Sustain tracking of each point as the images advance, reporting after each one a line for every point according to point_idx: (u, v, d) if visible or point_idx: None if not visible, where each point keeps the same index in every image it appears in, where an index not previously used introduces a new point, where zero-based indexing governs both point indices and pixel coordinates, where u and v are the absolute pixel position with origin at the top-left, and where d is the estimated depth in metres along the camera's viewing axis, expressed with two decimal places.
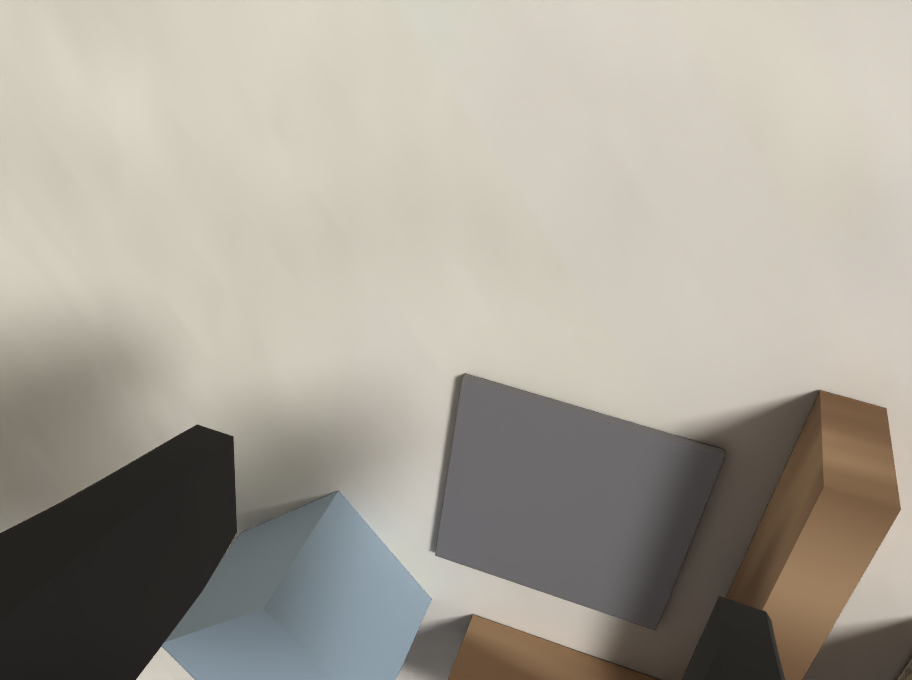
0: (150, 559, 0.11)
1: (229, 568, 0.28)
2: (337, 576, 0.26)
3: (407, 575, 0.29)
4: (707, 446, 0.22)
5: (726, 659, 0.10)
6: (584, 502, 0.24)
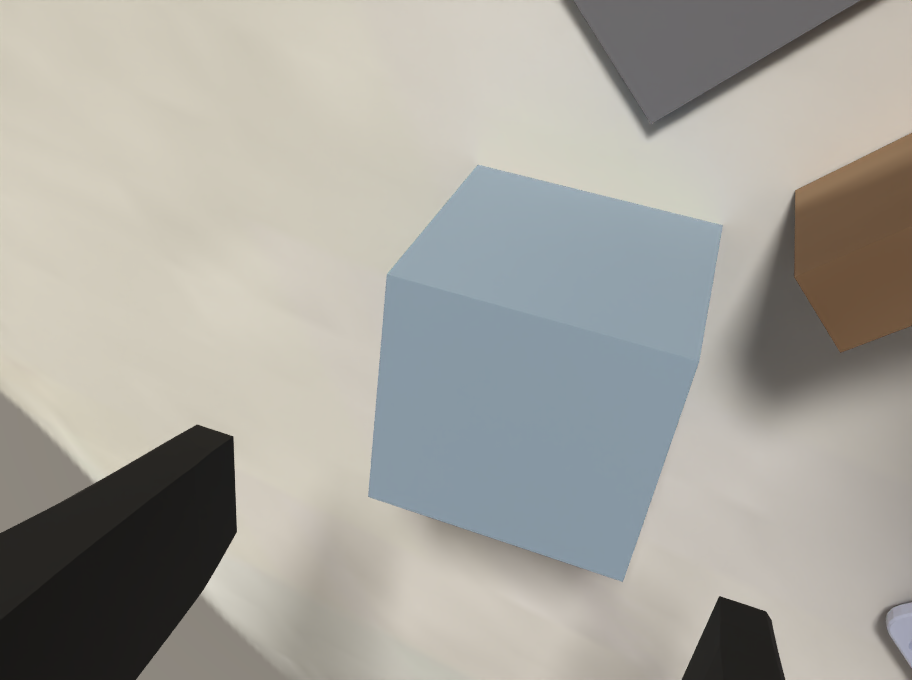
0: (150, 559, 0.11)
1: None
2: (519, 229, 0.16)
3: (656, 212, 0.17)
4: None
5: (726, 659, 0.10)
6: None
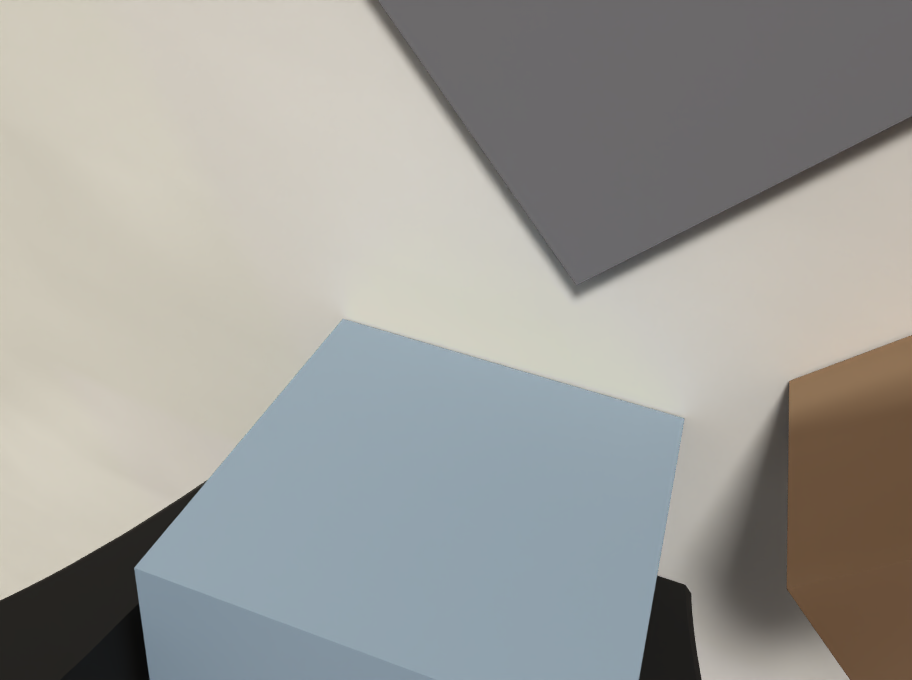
0: None
1: None
2: (375, 450, 0.10)
3: (589, 401, 0.12)
4: None
5: None
6: None
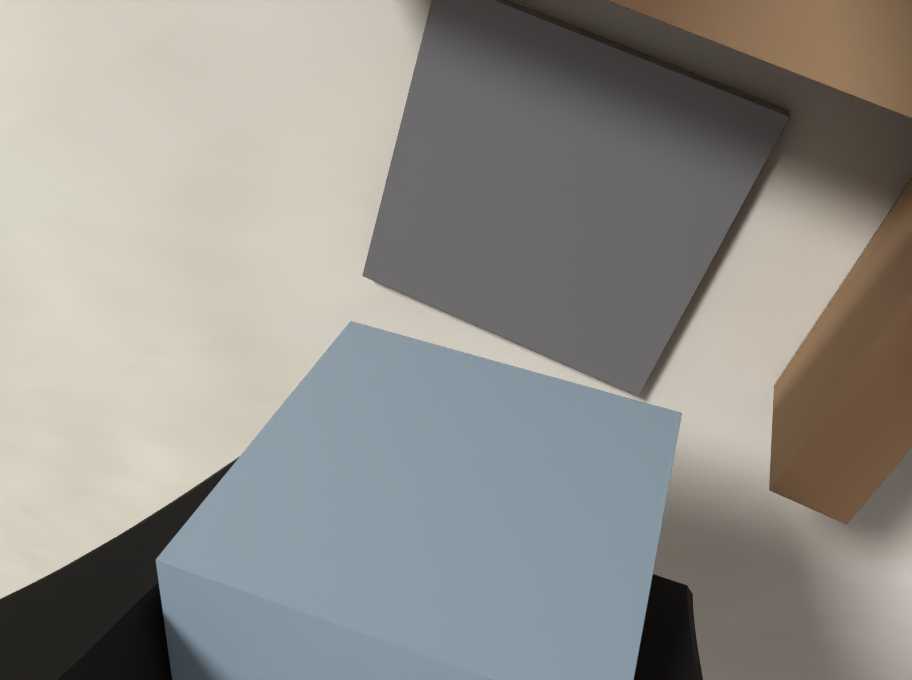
0: None
1: None
2: (383, 447, 0.11)
3: (589, 397, 0.12)
4: None
5: None
6: (528, 175, 0.18)
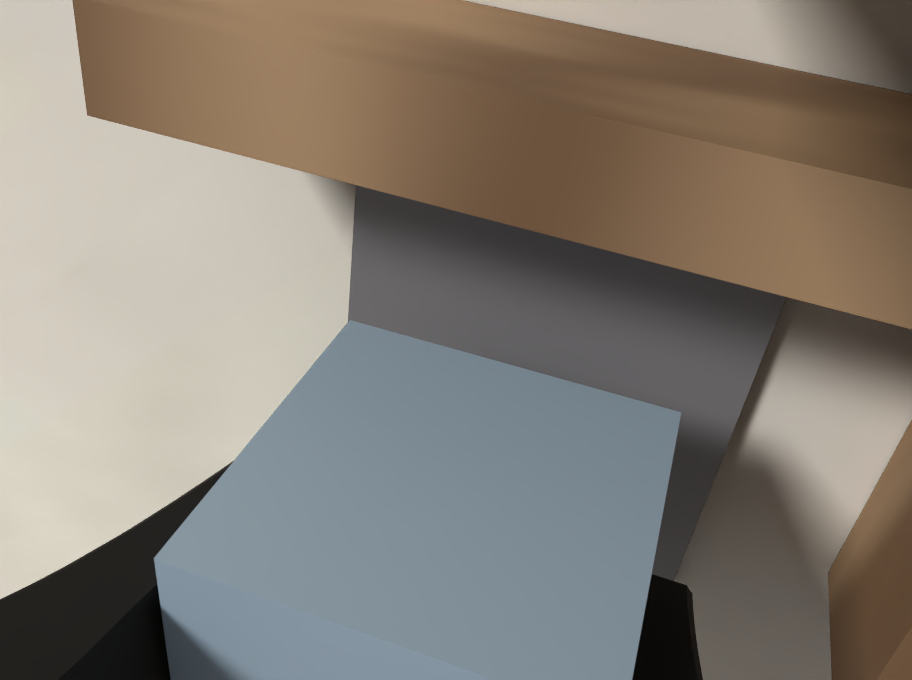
0: None
1: None
2: (382, 445, 0.11)
3: (589, 396, 0.12)
4: None
5: None
6: None
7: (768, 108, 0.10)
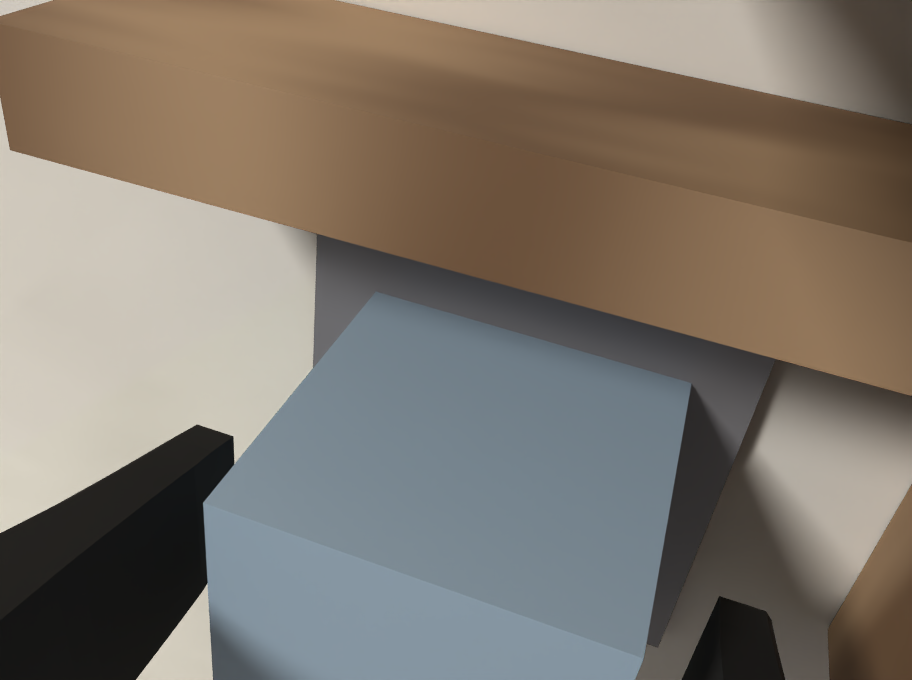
0: (150, 559, 0.11)
1: None
2: (411, 406, 0.12)
3: (604, 366, 0.13)
4: None
5: (726, 659, 0.10)
6: None
7: (761, 146, 0.09)
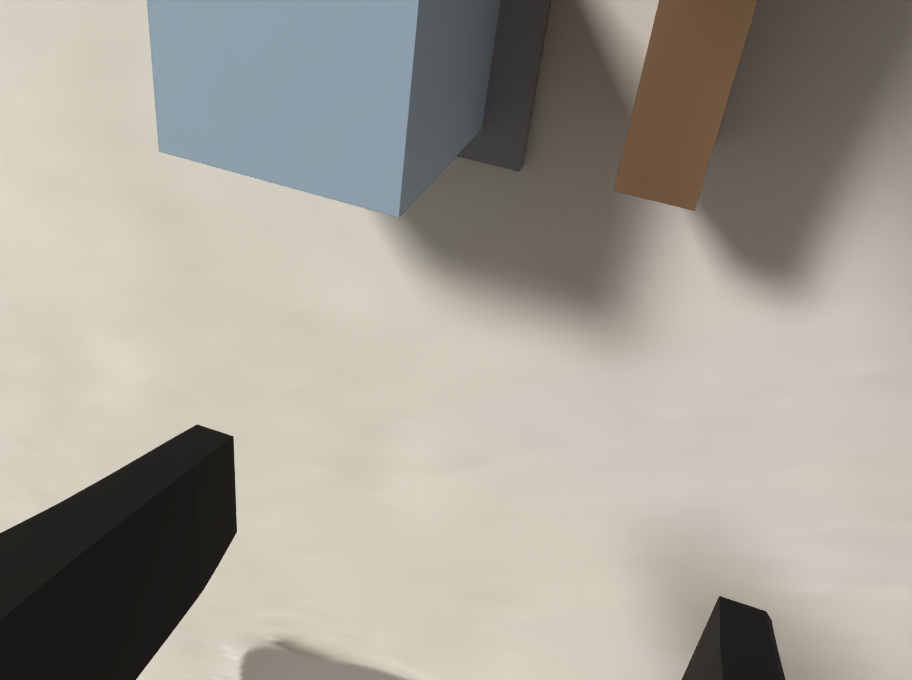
0: (150, 559, 0.11)
1: None
2: None
3: None
4: None
5: (726, 659, 0.10)
6: None
7: None
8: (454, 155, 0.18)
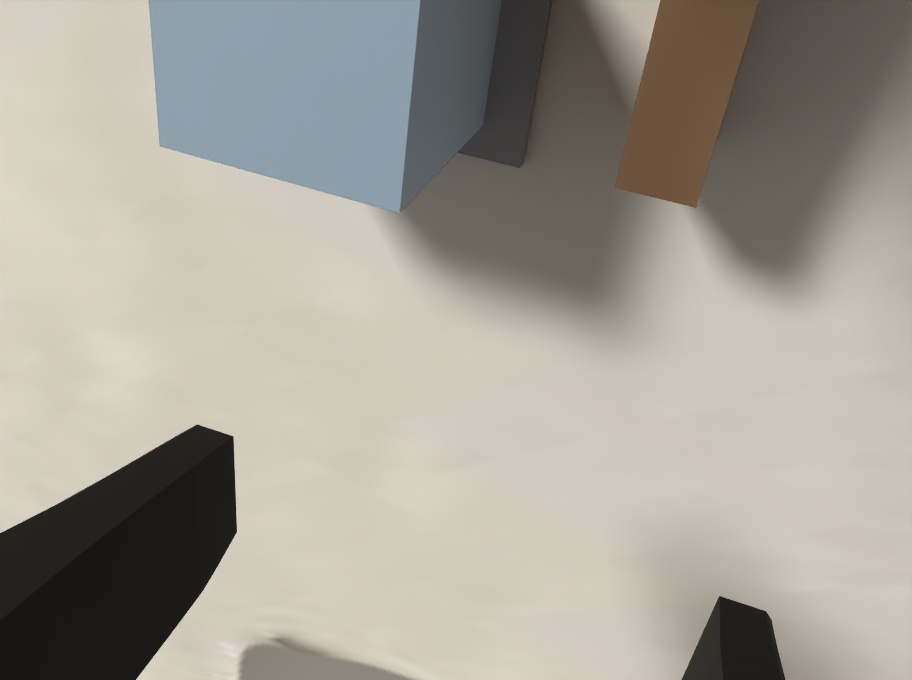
0: (150, 559, 0.11)
1: None
2: None
3: None
4: None
5: (726, 659, 0.10)
6: None
7: None
8: (455, 151, 0.18)
